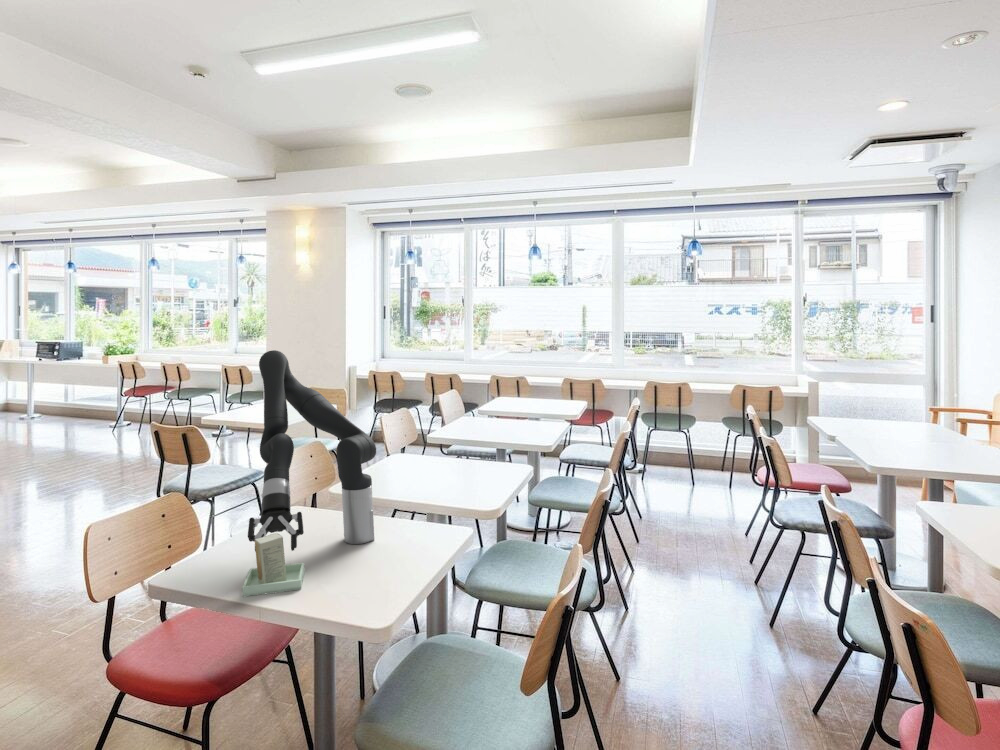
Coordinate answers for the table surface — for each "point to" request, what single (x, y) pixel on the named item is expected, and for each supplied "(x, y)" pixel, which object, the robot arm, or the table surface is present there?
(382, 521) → the table surface
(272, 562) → the skincare box
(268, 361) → the robot arm
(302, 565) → the tray
